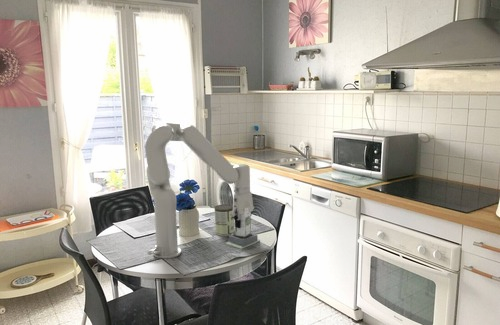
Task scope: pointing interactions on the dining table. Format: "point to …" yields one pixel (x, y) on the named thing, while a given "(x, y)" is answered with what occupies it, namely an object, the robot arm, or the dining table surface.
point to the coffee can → (224, 220)
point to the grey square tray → (243, 242)
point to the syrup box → (244, 224)
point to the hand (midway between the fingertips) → (243, 225)
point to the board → (239, 245)
